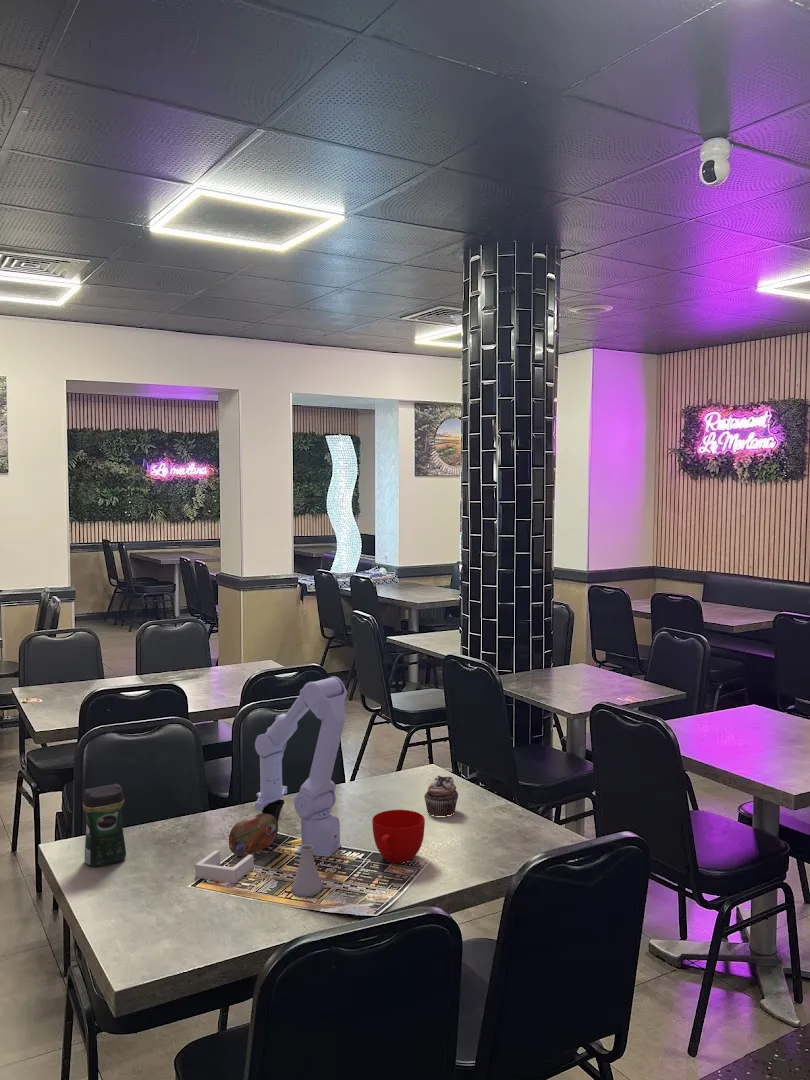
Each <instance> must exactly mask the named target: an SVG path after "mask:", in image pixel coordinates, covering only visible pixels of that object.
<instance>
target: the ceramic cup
mask: <svg viewBox="0 0 810 1080" xmlns="http://www.w3.org/2000/svg"><path fill="white" fill-rule="evenodd" d="M425 819H426V818H425V816H424V815H422V814H421V813H420V812H418V811H417V812H416V811H413V810H408V809H389V810H384V811H382V812H378V813H377V814H375V815H374V816H373V817H372V819H371V820H372V823H371V824H372V833H373V839H374V842H375V846H376V849H377V851H378V853H380V855H382V858H384V860H387V861H386V862H388V861H389V862H388V863H390V862H393V863H392V864H394V863H403V862H407V861H410V860H411V859H412V860H413V859H414V857H416V855H417V854H418V852H419V851H420V850H421V847H422V844H423V841H424V836H425V828H426V827H425V825H426V824H425V823H426V821H425ZM412 860H411V861H412ZM411 861H410V862H411ZM407 863H408V862H407ZM403 864H404V863H403Z"/></svg>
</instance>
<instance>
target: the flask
mask: <svg viewBox="0 0 810 1080" xmlns="http://www.w3.org/2000/svg"><path fill="white" fill-rule="evenodd" d="M300 846H301V845H300ZM300 846H299V847H300ZM299 847H298V848H299ZM313 849H314V846H312V845H302V846H301V847H300V848H299V850H300V851H301V854H300V857H299V858H300V859H299V864H298V867H297V871H296V874H295V877H294V880H293V881H292V885H291V889H290V892H291V891H292V892H293V894H294V893H295V894H294V895H296V896H297V895H303V896H302V897H307V896H310V897H312V896H311V895H313V896H315V895H314V894H316V893H318V894H320V893H321V892H322V891H323V890H324V888H325V886H324V884H323V880H322V878H321V876H320V874H319V871H318V869H317V866H316V863H315V859H314V855H313ZM323 887H324V888H323ZM322 889H323V890H322ZM321 890H322V891H321ZM320 891H321V892H320ZM292 892H291V893H292ZM319 892H320V893H319ZM316 895H317V894H316Z"/></svg>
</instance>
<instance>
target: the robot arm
mask: <svg viewBox="0 0 810 1080" xmlns="http://www.w3.org/2000/svg"><path fill="white" fill-rule="evenodd" d="M347 693H348V690H347V689H346V687H345V685H344V683H343V681H342V679H340V678H339V677H337V676H335V675H334V676H333V675H332V676H330V677H328V678H325V679H320V680H316V681H309V682H306V683H305V684H304V685H303V687H302V688H301V689H300V690H299V695H298V697H297V698H296V699H295V701H294V703H292V705H291V707H290V708H289V710H288V711H287V713H282V714H278V715H276V717H274V719H275V721H274V722H273V723H272V724H271V726H268V728H267V729H266V732H264V733H262V734H259V735H256V738H255V742H254V748H255V752H256V753H257V755H258V756H259V769H260V772H259V777H260V778H259V781H260V782H259V783H260V785H259V787H260V791H259V792H257V793H256V797H258V798H257V799H256V801H255V802H254V810H255V811H260V812H261V813H265V814H272V815H273V816H274V817H275V818H276V820H277V822H278V823H279V818H280V815H281V812H282V808H283V807H284V804H285V799H282V798H283V797H284V795H286V794H288V786H287V785H283V758H284V752H285V750H286V748H287V742H288V741H289V739H290V738H291V737H292V736H293V735H294V733H295V732H296V731H297V730H298V722H299V721H300V719H302V718H303V716H304V715H306V714H307V712H308V711H309V710H310V711H311V712H312V713H313V714H314V715H315V717H316V719H319V720H320V721H321V724H320V728H319V733H318V738H317V742H316V746H315V750H314V755H313V759H312V763H311V767H310V772H309V775H308V777H307V779H306V780H305V781H304V782H303V784H301V786H300V787H299V792H298V793H297V794H296V795H295V796H294V797H295V798H294V801H293V804H294V805H293V806H294V809H295V812H296V813H297V815H298V817H299V818H300V829H301V832H300V838H301V841H300V843H301V845H300V846H299V847H298V848H297V849H296V850H295V851H294V852H295V854H300V855H301V851H300V850H299V848H300V847H301V846H302V845H312V846H314V849H313V856H315V857H323V856H324V858H330V857H331V856H332V855H334V853H335V852H336V851H337V850H339V849H340V848H341V847H342V843H341V824H340V823H341V822H340V818H339V817H338V816H334V815H332V814H331V813H332V808H333V807H334V806H335V804H336V801H337V800H336V789H337V785H336V784H335V782H334V780H332V776H333V772H334V767H335V764H336V763H335V762H336V759H337V754H338V751H339V747H340V742H341V738H342V734H343V730H344V726H345V723H346V708H345V702H346V698H347Z"/></svg>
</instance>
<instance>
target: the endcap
mask: <svg viewBox="0 0 810 1080" xmlns="http://www.w3.org/2000/svg"><path fill="white" fill-rule="evenodd" d="M254 862H255V861H254V854H251V855H248V856H246V857H243V858H242V859H241V860H240V861H239V862H237V863H236V864H235V865H234V866H232V867H230V866H223V865H219V864H220V863H221V850H219V849H218V850H217V849H215V850H214V851H212V852H211V853H210V854H208V855H206V856H205V857H204V858H202V859H201V860H199V862H197V863H196V864H195V865H194V876H195V877H194V878H197V879H198V878H199V879H203V880H204V879H205V880H211V881H218V882H223V883H224V882H225V883H233V884H235V883H237V882H238V881H239V880H240V879H241V878H242V877H244V876H245V875H246V874H247V873H248V872H250V871H251V870H252V869H254V867H255V865H254V864H255V863H254Z"/></svg>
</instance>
